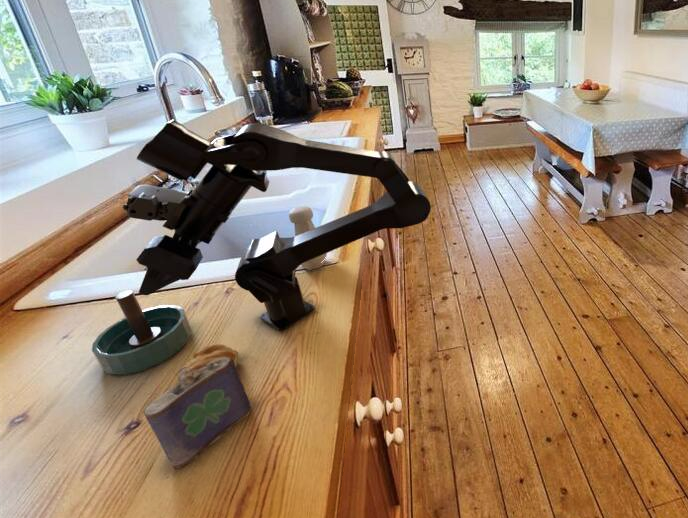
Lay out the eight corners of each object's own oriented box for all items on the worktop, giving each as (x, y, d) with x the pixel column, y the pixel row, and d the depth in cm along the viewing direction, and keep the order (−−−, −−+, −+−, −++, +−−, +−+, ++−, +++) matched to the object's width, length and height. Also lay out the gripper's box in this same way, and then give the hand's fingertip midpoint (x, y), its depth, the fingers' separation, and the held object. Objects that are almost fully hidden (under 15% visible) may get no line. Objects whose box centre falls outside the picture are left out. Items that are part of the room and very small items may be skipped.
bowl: (205, 338, 67) (197, 319, 65) (119, 389, 58) (107, 368, 57) (175, 315, 72) (167, 297, 71) (92, 358, 64) (80, 338, 62)
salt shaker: (334, 257, 88) (321, 202, 83) (320, 272, 83) (305, 215, 78) (308, 256, 89) (294, 202, 84) (293, 271, 84) (276, 215, 78)
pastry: (233, 401, 56) (224, 381, 54) (173, 422, 53) (162, 402, 51) (241, 354, 63) (233, 335, 62) (189, 370, 61) (180, 351, 59)
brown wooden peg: (171, 339, 66) (147, 288, 62) (144, 357, 63) (117, 305, 59) (154, 334, 67) (129, 284, 63) (127, 351, 64) (99, 300, 60)
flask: (178, 473, 47) (142, 407, 43) (165, 461, 48) (129, 396, 44) (256, 409, 54) (232, 347, 50) (243, 400, 56) (218, 339, 51)
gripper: (178, 148, 65) (121, 223, 66) (126, 191, 49) (51, 290, 50) (248, 185, 70) (195, 254, 71) (223, 234, 54) (154, 323, 55)
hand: (155, 276), depth 62 cm, fingers open, 9 cm apart
